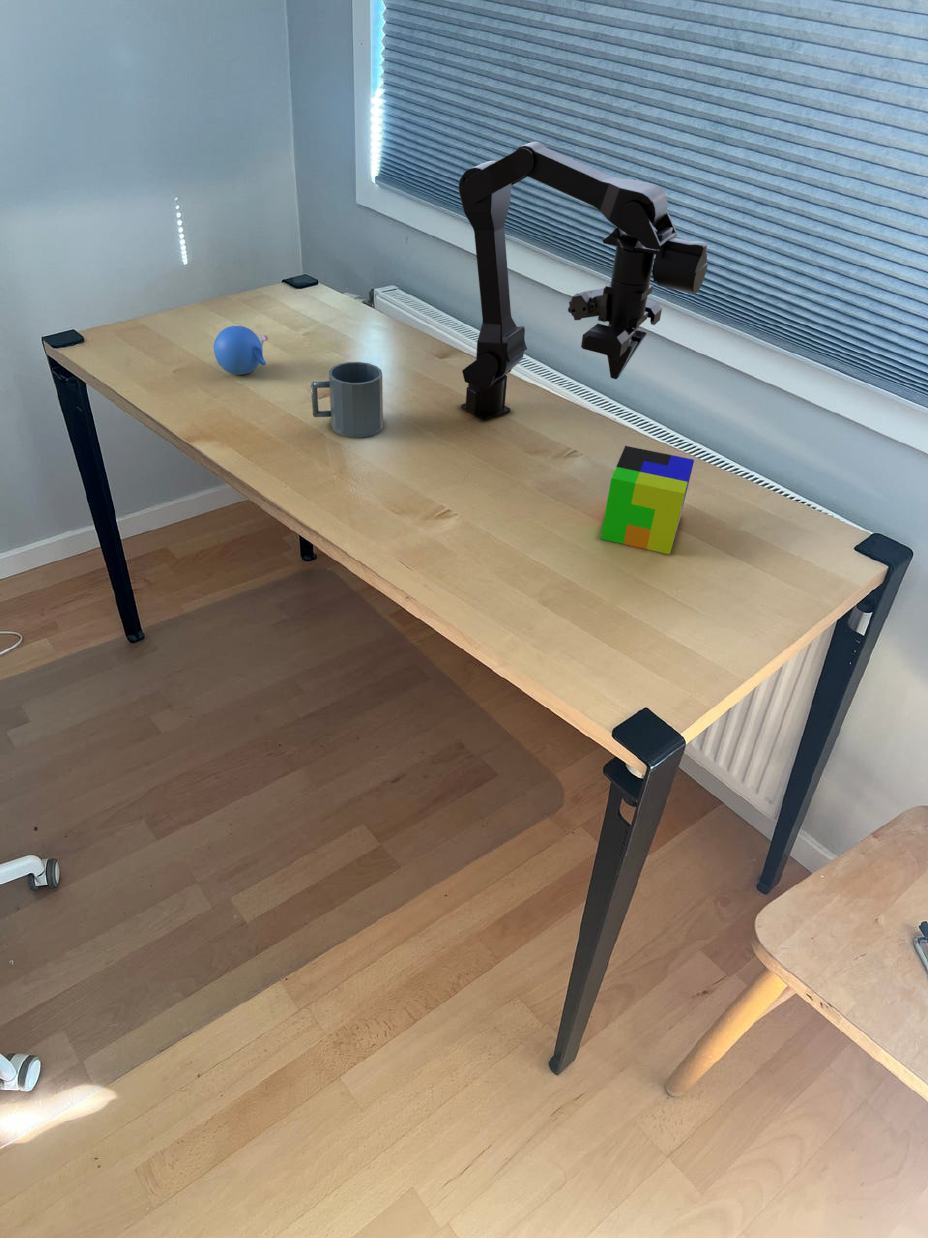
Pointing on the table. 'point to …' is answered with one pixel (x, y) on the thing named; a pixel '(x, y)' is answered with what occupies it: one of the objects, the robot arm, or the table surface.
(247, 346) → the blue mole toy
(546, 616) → the table surface
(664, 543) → the puzzle toy
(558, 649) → the table surface
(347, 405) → the mug
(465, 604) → the table surface
